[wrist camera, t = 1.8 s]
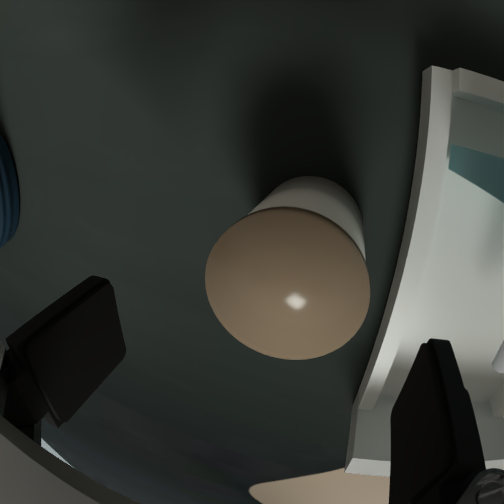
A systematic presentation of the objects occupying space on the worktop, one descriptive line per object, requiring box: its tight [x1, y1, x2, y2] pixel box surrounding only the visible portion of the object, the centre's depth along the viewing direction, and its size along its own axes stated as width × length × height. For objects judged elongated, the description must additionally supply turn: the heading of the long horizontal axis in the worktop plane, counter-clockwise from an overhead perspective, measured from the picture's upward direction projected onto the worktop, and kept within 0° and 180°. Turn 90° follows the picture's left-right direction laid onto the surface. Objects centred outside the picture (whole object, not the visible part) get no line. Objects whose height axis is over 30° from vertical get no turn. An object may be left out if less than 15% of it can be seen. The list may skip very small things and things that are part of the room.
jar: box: [205, 176, 370, 360], centre depth 14 cm, size 6×6×7 cm
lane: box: [344, 66, 504, 476], centre depth 13 cm, size 12×22×6 cm, turn 177°
